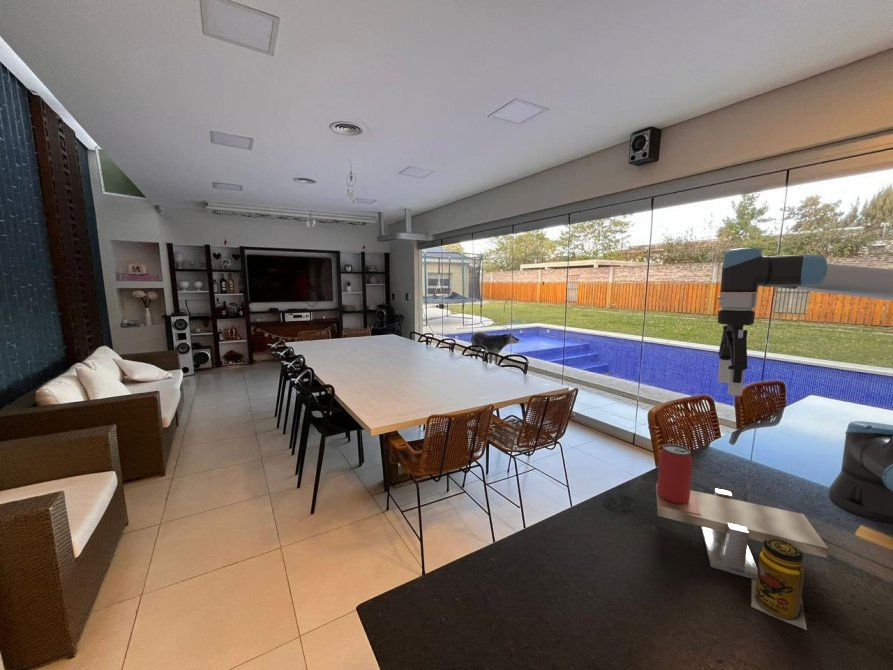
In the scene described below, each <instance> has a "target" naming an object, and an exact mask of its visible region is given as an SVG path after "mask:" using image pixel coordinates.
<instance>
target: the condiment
mask: <svg viewBox="0 0 893 670" xmlns="http://www.w3.org/2000/svg"><path fill="white" fill-rule="evenodd" d="M803 559H804V555H803V552H801V551H800V549H798V548H797V547H796V546H794V545H792V544H790V543H788V542H786V541H783V540H780V539H775V538H768V539H766V540H765V541H764V542H763V546H762V551H760V553H759V554H758V567H757V569H758V573H757V580H754V579H751V605H750V606H751V608H753V609H755V610H757V611H760V612H762V613H764V614H767V615H768V616H771V617H774V618H775V619H778V620H780V621H783V622H785V623H786V624H790V625H792V626H796V627H798V628H801V629H803V630H805V631H808V628H807V623H806V622H807V621H806V617H805V609H804V601H803V598H802V594H803V587H804V586H803V585H804V579H805V569H804V566H803V563H804V562H803Z"/></svg>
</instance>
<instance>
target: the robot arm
mask: <svg viewBox="0 0 893 670" xmlns="http://www.w3.org/2000/svg"><path fill="white" fill-rule="evenodd" d="M720 279H721V281H720V291H719V292H720V295H718V296H717V297H716V300H718V301H719V302H718V304H719V305H718V307H719V308H721V309H719V310H718V313H717V314H718V315H717V323H718V324H721V325H723V326H722V334H721V341H720V346H719V350H718V356H719V357H718V358H719V363H718V364H719V365H718V373H717V374H718V375H717V383H723V384H728V386H727V387H728V388H727V395H730V396H737V397H738V396H740V397H742V396H743V389H744V388H743V386H744V385H743V384H744V377H745V371H746V370H748V366H749V365H748V351H747V350H748V345H747V344H748V343H747V342H748V341H747V337H748V330H747V329H744V326H752V325H754V324H755V315H756V312H755V310H754V309H756V307H757V300H758V288H759V287H764V288H772V287H773V288H781V289H788V290H790V289H791V290H798V291H807V292H817V293H824V294H833V295H834V294H835V295H842V296H851V297H858V298H859V297H860V298H866V299H867V298H868V299H874V300H875V299H876V300H882V301H883V300H884V301H892V302H893V268H892V269H891V268H882V267H869V266H860V265H859V266H858V265H857V266H856V265H847V264H835V263H828V262H827V259H826V256H824V255H822V254H808V253H806V254H791V255H790V254H788V255H773V256H772V255H770V256H769V255H763V253H762V249H761V248H759V247H758V248H757V247H745V248H744V247H743V248H734V249H733V248H731V249H729V250H727V251H726V252H725V253H724V255H723V261H722V267H721V278H720ZM844 438H845V439H844V448H843V455H842V461H841V462H842V463H841V469H840V473H839V474H838V475H837V476H836V478H835V479H834V480H833V482H832V484H831V485H830V486H829V488H828V494H827V496H828V498H829V500H831V501H832V502H833V503H834V504H835V505H837V506H839V507H841V508H843V509H844V510H846V511H849V512H851V513H853V514H856V515H858V516H862V517H863V518H867V519H871V520H873V521H877V522H881V523H885V524H891V525H893V424H886V423H882V422H881V423H880V422H871V421H865V420H864V421H863V420H860V421H859V420H855V421H851V422H849V423H848V425H847V429H846V431H845V437H844Z"/></svg>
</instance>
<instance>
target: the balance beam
mask: <svg viewBox="0 0 893 670" xmlns="http://www.w3.org/2000/svg"><path fill="white" fill-rule="evenodd" d="M655 485H656V486H655V494H656V506H657V507H656V509H657V510H656V511H657V516H658V517H661V518H666V519H670V520H673V521H677V522H680V523H685V524H690V525H694V526H698V527H700V528H701V527H705V528H709V529H713V530H717V531H721V532H725V533H727V527H728V523H731V524H735V525H739V526H743V527H746V528H747V530H748V533H749V534H748V540H749V539H750V540H753V541H758V542H760V543H764V541H765V540H766V539H768V538H775V539H780V540H783V541H786V542H788V543H790V544H792V545H794V546H796V547H797V548H798V549H800V551H801V552H802V553H806V554H809V555H814V556H817V557H821V558H826V559H827V558H828V552H829V547H828V546H827V545H826V543H825V542H824V540H823V539H822V538H821V537H820V535H819V534H818V532H817V531H816V529H815V528H814V527H813V525H812V523H810V522H809V520H808V519H807V517H806V516H805V514H804V513H799V512H795V511H790V510H785V509H781V508H776V507H771V506H768V505H761V504H757V503H752V502H748V501H743V500H739V499H733V498H732V499H730V498H725V497H720V496H716V495H714V494H711V493H706V492H701V491H696V490H693V489H690V499H689V501H688V502H687V503H683V504H676V503H672V502H669V501H666V500H664V499H663V498H661V497H660V496H659V495H658V493H657V482H656V484H655Z"/></svg>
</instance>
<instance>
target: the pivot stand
mask: <svg viewBox="0 0 893 670" xmlns="http://www.w3.org/2000/svg"><path fill="white" fill-rule="evenodd" d="M713 495H716V496H720V497H725V498H730V499H733V494H732V492H731V491H729V490H725V489H720V488H714V493H713ZM700 529H701V533H702V538H703V541H704V545H705V549H706V553H707V557H708V561H709V565H710V567H711V568H714V569H718V570H720V571H724V572H726V573H731V574H734V575H737V576H741V577H746V578H748V579H750V580H752V579H753V580H755V581H757V573H758V567H757V565H756V563H755V560H754V557H753V555H752V552H751V550H750V548H749V546H748V544H749V543H748V541H749V538H748V534H749V533H748V530H747V528H746V527H743V526H739V525H735V524H731V523H728V527H727V533H725V532H721V531H717V530H713V529H709V528H705V527H701V526H700Z"/></svg>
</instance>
